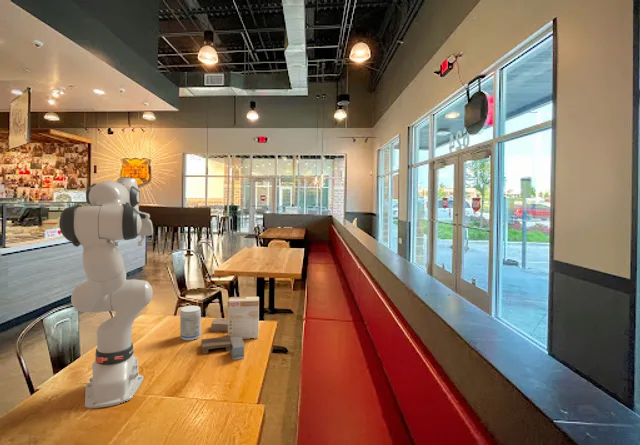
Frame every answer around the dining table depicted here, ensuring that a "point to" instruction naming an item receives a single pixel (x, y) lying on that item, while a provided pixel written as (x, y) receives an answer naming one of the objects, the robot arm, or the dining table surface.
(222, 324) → the brick
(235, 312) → the coffeecake box
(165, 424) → the dining table surface
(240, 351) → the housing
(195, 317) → the supplement tub
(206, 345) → the stand
